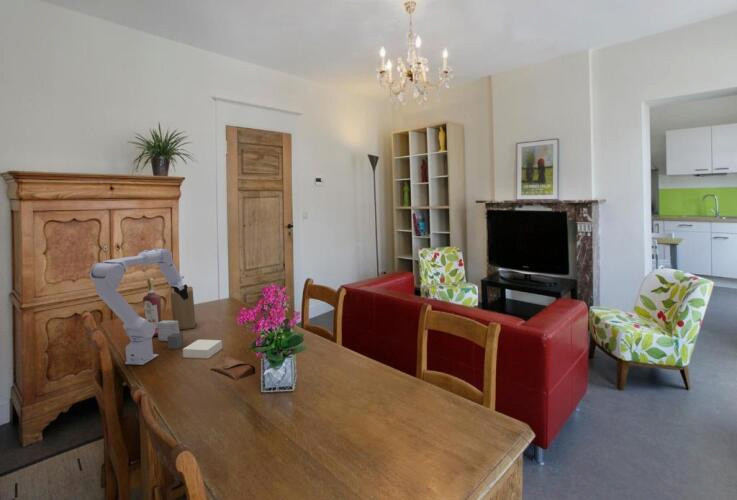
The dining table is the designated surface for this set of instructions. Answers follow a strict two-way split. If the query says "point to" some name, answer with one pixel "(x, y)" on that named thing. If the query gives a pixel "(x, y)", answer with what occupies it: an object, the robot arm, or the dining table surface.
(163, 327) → the medicine box
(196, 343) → the white flat panel
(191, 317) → the wooden block
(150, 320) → the liquor
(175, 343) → the charcoal block
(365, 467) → the dining table surface
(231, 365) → the sunglasses case
